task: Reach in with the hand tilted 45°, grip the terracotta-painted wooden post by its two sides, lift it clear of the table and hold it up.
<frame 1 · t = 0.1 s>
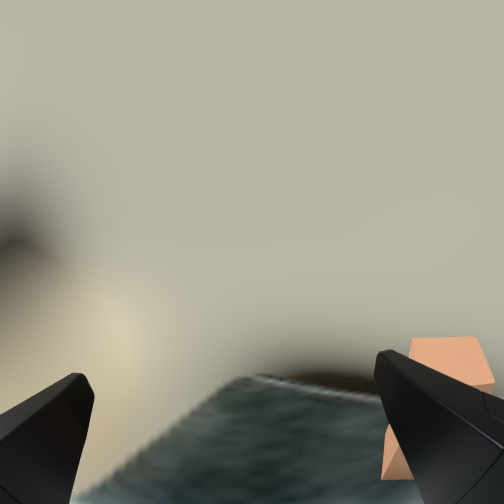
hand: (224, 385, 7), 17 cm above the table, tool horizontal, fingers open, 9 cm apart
post: (411, 456, 17), on the table
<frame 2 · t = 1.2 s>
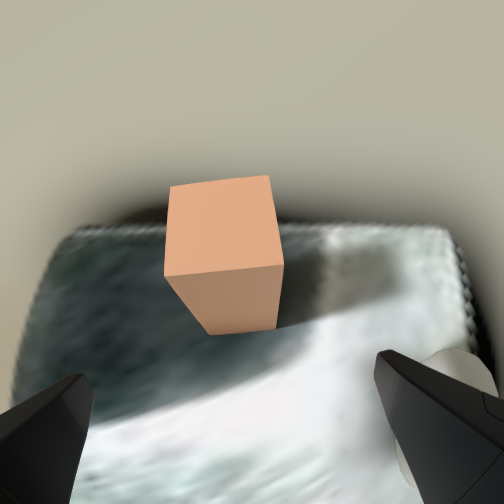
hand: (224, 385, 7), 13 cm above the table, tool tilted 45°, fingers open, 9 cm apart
donut: (406, 422, 17), on the table
post: (239, 301, 23), on the table
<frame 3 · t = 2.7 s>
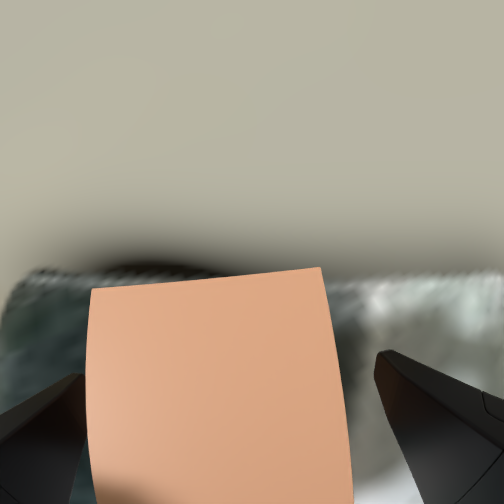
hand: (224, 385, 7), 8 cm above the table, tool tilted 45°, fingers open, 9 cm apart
post: (245, 402, 14), on the table
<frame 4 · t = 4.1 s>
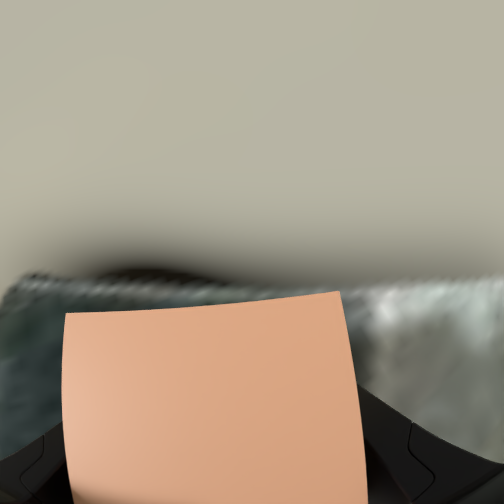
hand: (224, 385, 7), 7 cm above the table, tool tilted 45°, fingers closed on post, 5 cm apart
post: (245, 416, 13), on the table, touching gripper
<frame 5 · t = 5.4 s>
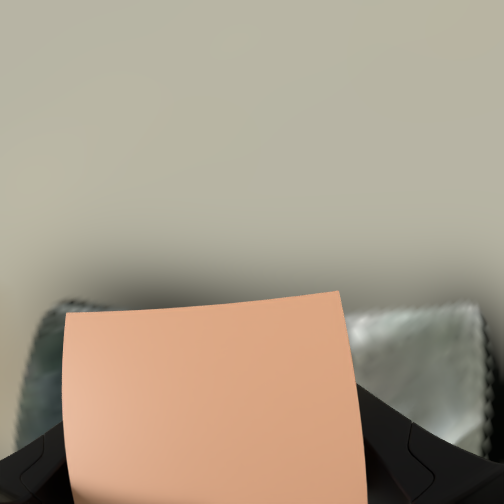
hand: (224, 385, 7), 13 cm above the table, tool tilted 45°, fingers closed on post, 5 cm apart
post: (245, 416, 13), point 6 cm above the table, touching gripper
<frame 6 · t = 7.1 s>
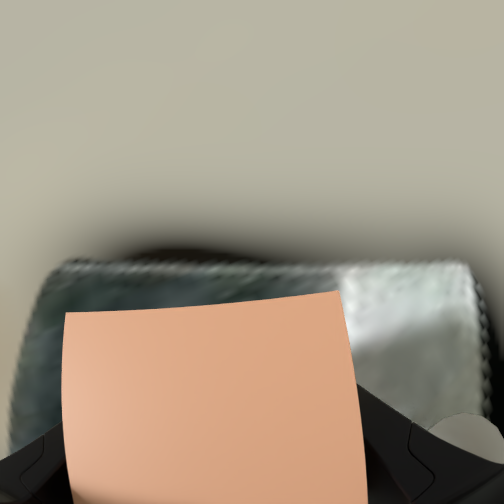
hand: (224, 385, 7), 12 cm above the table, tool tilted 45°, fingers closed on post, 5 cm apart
donut: (415, 471, 14), on the table
post: (245, 416, 13), point 5 cm above the table, touching gripper
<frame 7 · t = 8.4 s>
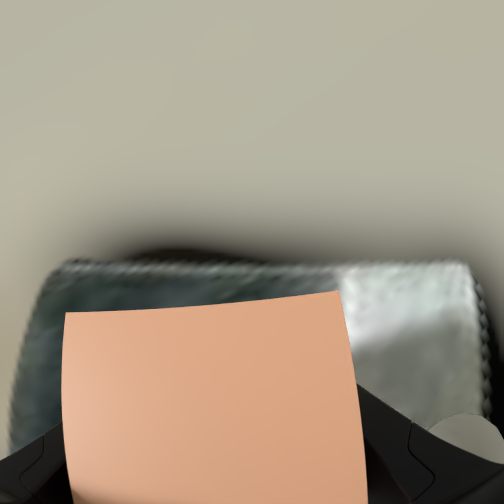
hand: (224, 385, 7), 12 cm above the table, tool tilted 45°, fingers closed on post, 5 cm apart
donut: (415, 471, 14), on the table
post: (245, 416, 13), point 5 cm above the table, touching gripper
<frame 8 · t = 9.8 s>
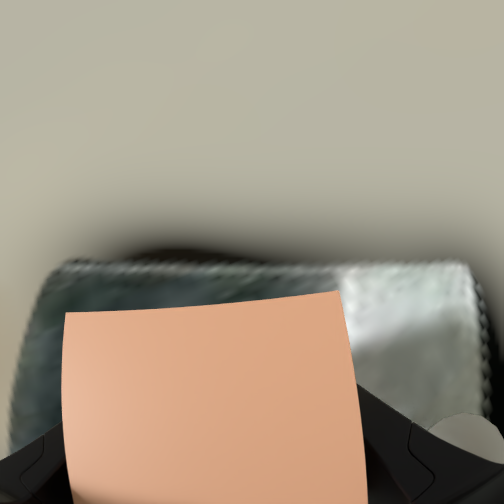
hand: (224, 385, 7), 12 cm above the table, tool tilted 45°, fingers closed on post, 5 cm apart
donut: (415, 471, 14), on the table
post: (245, 416, 13), point 5 cm above the table, touching gripper
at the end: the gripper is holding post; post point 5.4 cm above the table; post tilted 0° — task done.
